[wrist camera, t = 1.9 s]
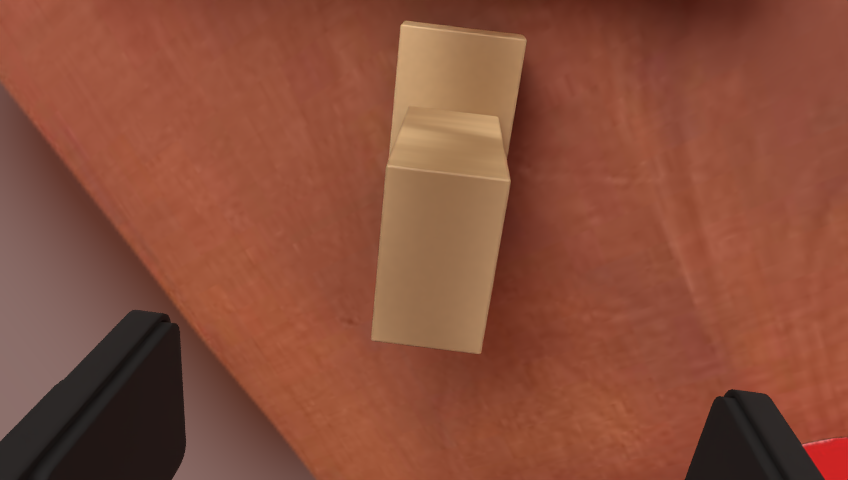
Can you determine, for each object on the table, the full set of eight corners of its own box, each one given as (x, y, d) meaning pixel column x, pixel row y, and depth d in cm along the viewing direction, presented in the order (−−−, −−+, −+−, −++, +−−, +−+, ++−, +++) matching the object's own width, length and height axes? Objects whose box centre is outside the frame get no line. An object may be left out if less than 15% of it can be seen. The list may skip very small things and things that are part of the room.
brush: (383, 270, 27) (346, 412, 18) (407, 17, 22) (372, 54, 14) (479, 282, 26) (486, 430, 18) (521, 30, 22) (552, 75, 14)
